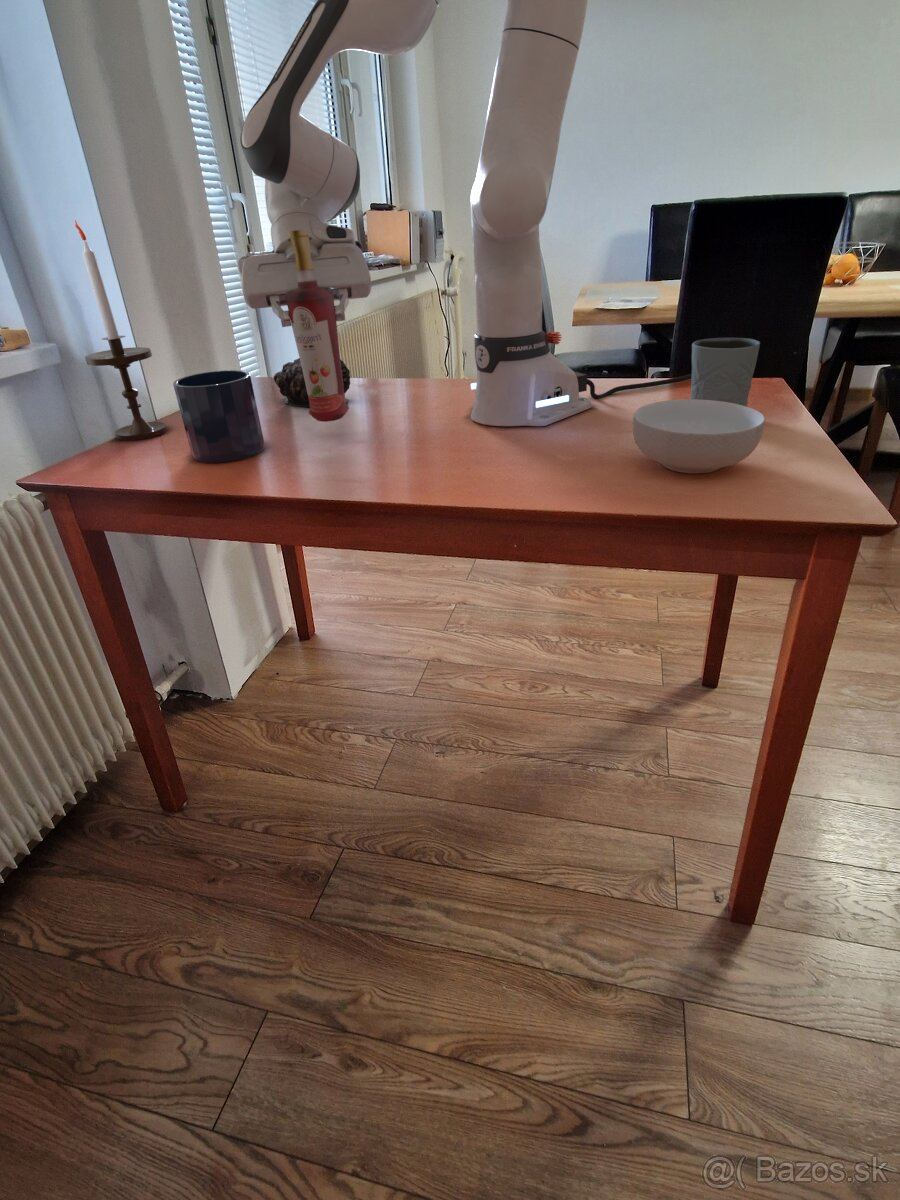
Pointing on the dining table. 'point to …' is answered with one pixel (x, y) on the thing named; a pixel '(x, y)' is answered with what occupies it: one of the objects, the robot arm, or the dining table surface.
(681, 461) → the cereal bowl
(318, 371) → the liquor
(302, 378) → the pine cone
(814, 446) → the dining table surface
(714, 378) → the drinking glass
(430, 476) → the dining table surface
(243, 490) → the dining table surface
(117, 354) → the candlestick
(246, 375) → the dark blue plant pot
